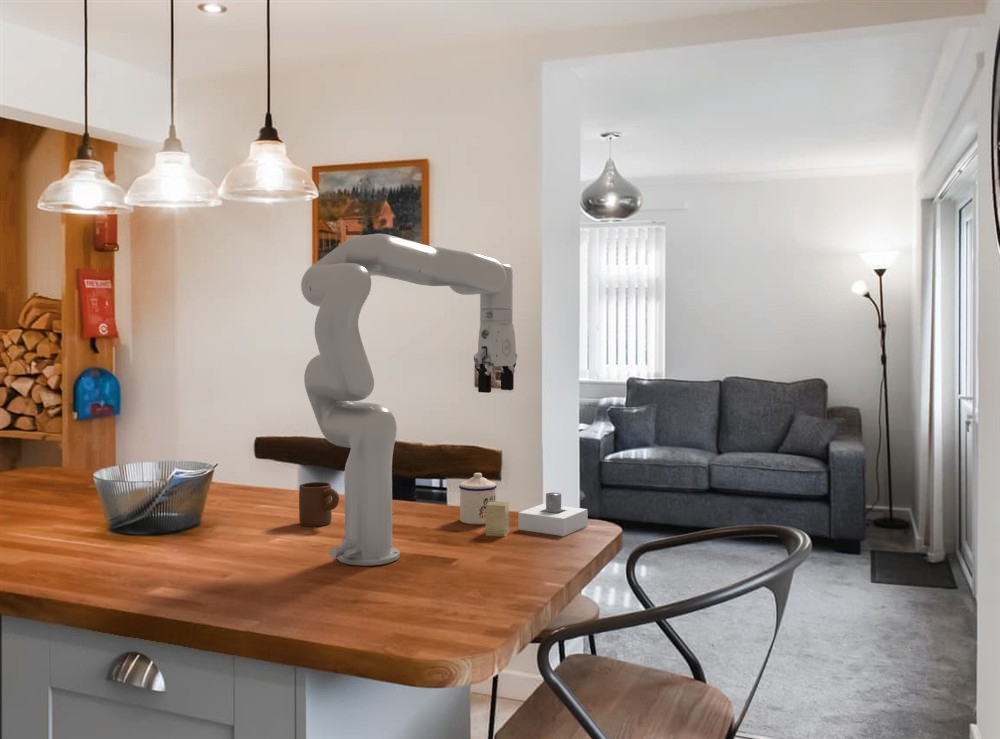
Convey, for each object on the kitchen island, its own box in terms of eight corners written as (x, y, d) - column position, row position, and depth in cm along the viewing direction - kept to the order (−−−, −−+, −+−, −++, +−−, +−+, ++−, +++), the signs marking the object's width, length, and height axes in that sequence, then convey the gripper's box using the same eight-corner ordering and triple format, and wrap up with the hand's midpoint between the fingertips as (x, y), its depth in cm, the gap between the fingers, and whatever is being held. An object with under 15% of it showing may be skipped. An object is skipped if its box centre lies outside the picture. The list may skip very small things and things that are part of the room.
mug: (350, 525, 205) (350, 486, 205) (324, 531, 200) (324, 491, 199) (318, 518, 213) (317, 480, 213) (292, 524, 207) (292, 485, 207)
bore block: (564, 536, 196) (564, 518, 196) (518, 529, 202) (518, 512, 202) (587, 525, 206) (587, 509, 206) (543, 519, 212) (543, 503, 212)
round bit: (556, 530, 202) (556, 496, 201) (543, 528, 204) (543, 494, 203) (563, 527, 205) (564, 493, 204) (550, 525, 207) (550, 491, 206)
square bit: (505, 536, 195) (505, 505, 195) (485, 535, 196) (485, 505, 196) (508, 532, 200) (509, 501, 199) (489, 531, 201) (490, 501, 200)
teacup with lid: (484, 526, 205) (484, 477, 204) (451, 522, 209) (451, 474, 209) (508, 517, 215) (509, 470, 215) (477, 513, 220) (477, 467, 219)
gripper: (489, 316, 191) (489, 394, 192) (528, 317, 206) (528, 389, 207) (461, 317, 195) (461, 392, 196) (502, 317, 210) (501, 388, 211)
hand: (496, 391), depth 201 cm, fingers open, 9 cm apart
